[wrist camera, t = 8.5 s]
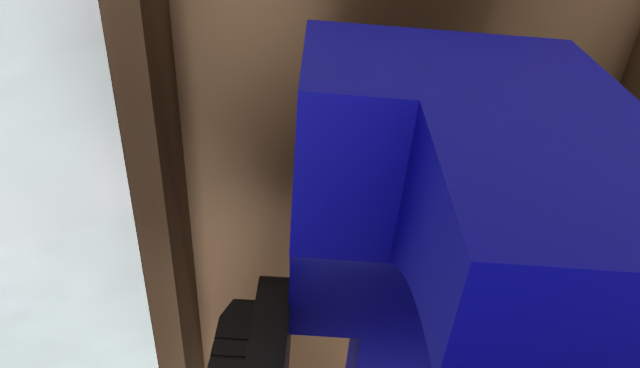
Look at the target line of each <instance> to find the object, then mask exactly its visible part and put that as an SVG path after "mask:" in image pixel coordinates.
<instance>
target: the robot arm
mask: <svg viewBox="0 0 640 368" xmlns="http://www.w3.org/2000/svg"><path fill="white" fill-rule="evenodd" d="M289 280H290V277H276V276H260V277H259V281H258V286H257V292H256V298H255V300H247V299H233V300H232V301H231V302H230V304H229V305H228V306H227V307H226V309H225V310H224V311H223V312H222V314H221V315H220V316H219V320H218V324H217V328H216V333H215V337H214V342H213V345H212V349H211V354H210V359H209V362H208V366H207V368H289V360H290V347H291V335H290V334H289V326H290V305H289Z"/></svg>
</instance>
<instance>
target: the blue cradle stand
mask: <svg viewBox="0 0 640 368" xmlns="http://www.w3.org/2000/svg"><path fill="white" fill-rule="evenodd" d="M289 260H290V280H289V305H290V326H289V334H290V335H306V336H321V337H337V338H350V340H349V347H348V353H347V360H346V367H345V368H640V101H639V100H638V99H637V98H636V97H635V96H634V95H632V94H631V93H630V92H629V91H628V90H627V89H626V88H625V87H623V86H622V85H621V84H620V83H619V82H618V81H617V80H616V79H614V78H613V77H612V76H611V75H610V74H609V73H608V72H607V71H606V70H604V69H603V68H602V67H601V66H600V65H599V64H598V63H597V62H595V61H594V60H593V59H592V58H591V57H590V56H589V55H588V54H586V53H585V52H584V51H583V50H582V49H581V48H580V47H579V46H577V45H576V44H575V43H574V42H573V41H572V40H564V39H552V38H539V37H526V36H513V35H500V34H487V33H474V32H462V31H449V30H436V29H423V28H410V27H397V26H384V25H371V24H359V23H346V22H333V21H320V20H307V25H306V33H305V40H304V48H303V56H302V64H301V72H300V79H299V87H298V100H297V118H296V137H295V155H294V173H293V192H292V210H291V229H290V247H289Z"/></svg>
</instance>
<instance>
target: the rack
mask: <svg viewBox="0 0 640 368" xmlns="http://www.w3.org/2000/svg"><path fill="white" fill-rule="evenodd" d="M98 2H99V8H100V14H101V20H102V26H103V32H104V38H105V44H106V50H107V57H108V63H109V69H110V75H111V81H112V87H113V93H114V99H115V105H116V111H117V117H118V123H119V129H120V135H121V141H122V147H123V153H124V159H125V165H126V172H127V178H128V184H129V190H130V196H131V202H132V208H133V214H134V220H135V226H136V232H137V238H138V244H139V250H140V256H141V262H142V268H143V274H144V280H145V287H146V293H147V299H148V305H149V311H150V317H151V323H152V329H153V335H154V341H155V347H156V353H157V359H158V365H159V368H207V366H208V362H209V359H210V354H211V349H212V345H213V342H214V337H215V333H216V328H217V324H218V320H219V316H220V315H221V314H222V312H223V311H224V310H225V309H226V307H227V306H228V305H229V304H230V302H231V301H232V300H233V299H247V300H255V298H256V292H257V286H258V281H259V277H260V276H276V277H290V260H289V247H290V229H291V210H292V192H293V173H294V155H295V137H296V118H297V100H298V87H299V79H300V72H301V64H302V56H303V48H304V40H305V33H306V25H307V20H320V21H333V22H346V23H359V24H371V25H384V26H397V27H410V28H423V29H436V30H449V31H462V32H474V33H487V34H500V35H513V36H526V37H539V38H552V39H564V40H572V41H573V42H574V43H575V44H576V45H577V46H579V47H580V48H581V49H582V50H583V51H584V52H585V53H586V54H588V55H589V56H590V57H591V58H592V59H593V60H594V61H595V62H597V63H598V64H599V65H600V66H601V67H602V68H603V69H604V70H606V71H607V72H608V73H609V74H610V75H611V76H612V77H613V78H614V79H616V80H617V81H618V82H619V83H620V84H621V85H622V86H623V87H625V88H626V89H627V90H628V91H629V92H630V93H631V94H632V95H634V96H635V97H636V98H637V99H638V100H639V101H640V0H98ZM349 340H350V338H337V337H321V336H306V335H291V347H290V360H289V368H345V367H346V360H347V353H348V347H349Z"/></svg>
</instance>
